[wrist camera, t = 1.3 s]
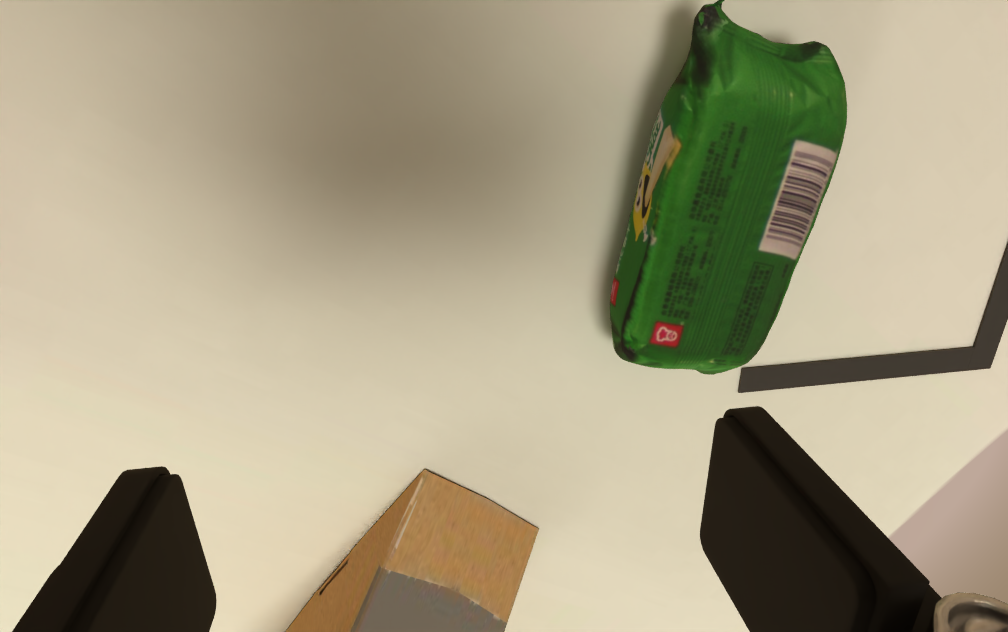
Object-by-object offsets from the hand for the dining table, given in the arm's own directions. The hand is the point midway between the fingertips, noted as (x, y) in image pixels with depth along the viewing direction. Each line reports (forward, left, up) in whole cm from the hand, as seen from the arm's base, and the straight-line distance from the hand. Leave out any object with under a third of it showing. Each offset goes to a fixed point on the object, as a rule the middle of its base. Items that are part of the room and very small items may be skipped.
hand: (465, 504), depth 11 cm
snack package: (0, +12, -19) cm, 22 cm away
